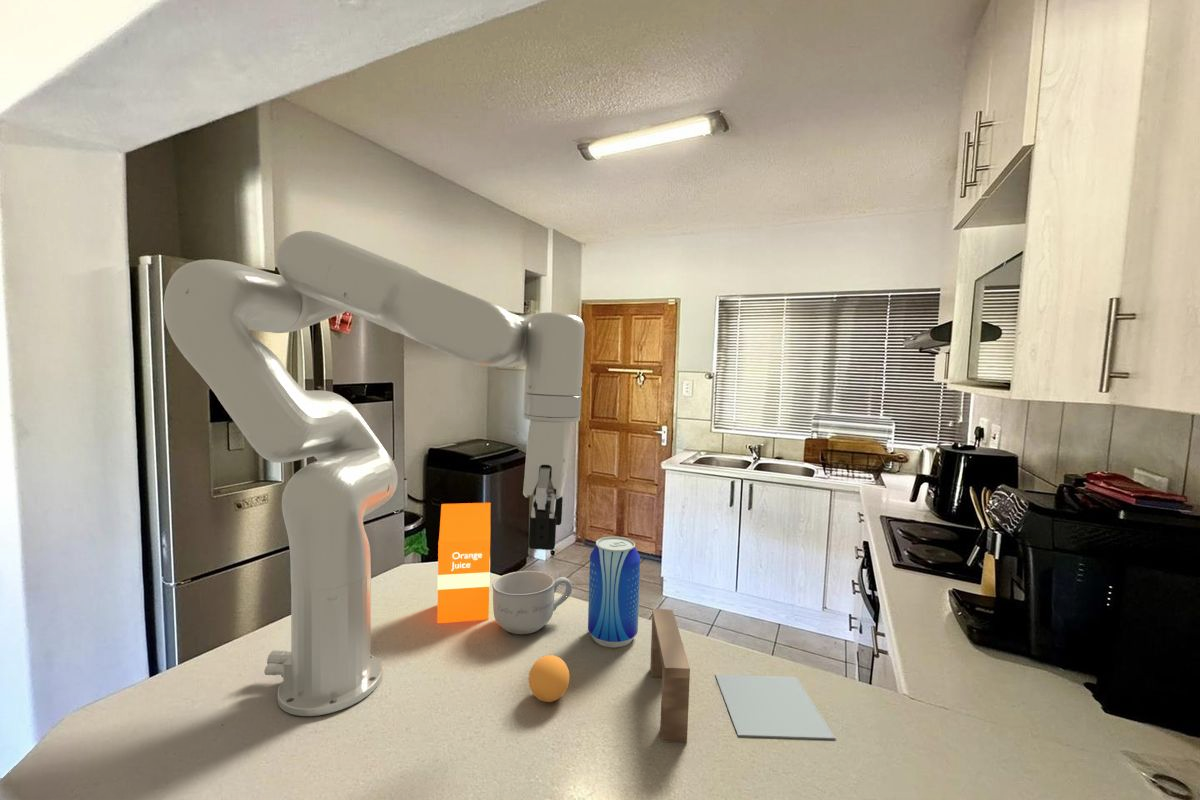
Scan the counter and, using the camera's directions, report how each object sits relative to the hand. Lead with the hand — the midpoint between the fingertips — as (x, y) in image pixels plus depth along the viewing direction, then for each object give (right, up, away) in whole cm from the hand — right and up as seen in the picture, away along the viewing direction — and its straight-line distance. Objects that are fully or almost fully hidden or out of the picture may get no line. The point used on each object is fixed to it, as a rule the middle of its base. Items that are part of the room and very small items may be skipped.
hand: (546, 535), depth 65 cm
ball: (0, -20, +1) cm, 20 cm away
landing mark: (+30, -23, +1) cm, 38 cm away
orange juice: (-18, -21, +24) cm, 36 cm away
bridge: (+16, -23, +1) cm, 28 cm away
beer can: (+9, -22, +17) cm, 29 cm away
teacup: (-5, -21, +20) cm, 29 cm away
